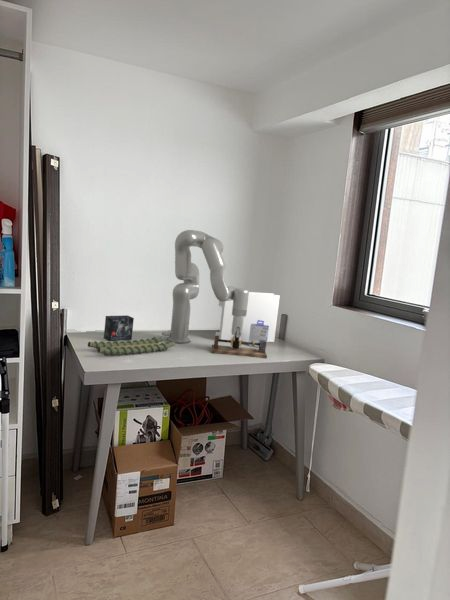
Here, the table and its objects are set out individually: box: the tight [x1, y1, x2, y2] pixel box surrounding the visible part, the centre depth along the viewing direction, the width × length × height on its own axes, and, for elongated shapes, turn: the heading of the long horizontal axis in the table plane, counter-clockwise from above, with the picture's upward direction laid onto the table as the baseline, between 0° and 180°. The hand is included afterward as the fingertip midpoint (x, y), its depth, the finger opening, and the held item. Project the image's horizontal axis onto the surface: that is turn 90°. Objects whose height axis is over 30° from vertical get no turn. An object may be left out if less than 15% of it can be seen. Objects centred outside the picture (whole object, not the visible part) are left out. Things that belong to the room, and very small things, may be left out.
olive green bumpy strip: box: [87, 336, 176, 356], centre depth 222 cm, size 41×14×5 cm, turn 131°
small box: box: [103, 314, 135, 342], centre depth 241 cm, size 13×7×12 cm, turn 131°
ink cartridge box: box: [247, 320, 269, 348], centre depth 259 cm, size 10×6×14 cm, turn 78°
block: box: [214, 291, 281, 343], centre depth 271 cm, size 35×8×28 cm, turn 114°
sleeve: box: [230, 337, 242, 347], centre depth 240 cm, size 5×4×4 cm
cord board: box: [211, 335, 268, 359], centre depth 240 cm, size 28×12×8 cm, turn 92°
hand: (235, 347), depth 241 cm, fingers closed on sleeve, 3 cm apart
